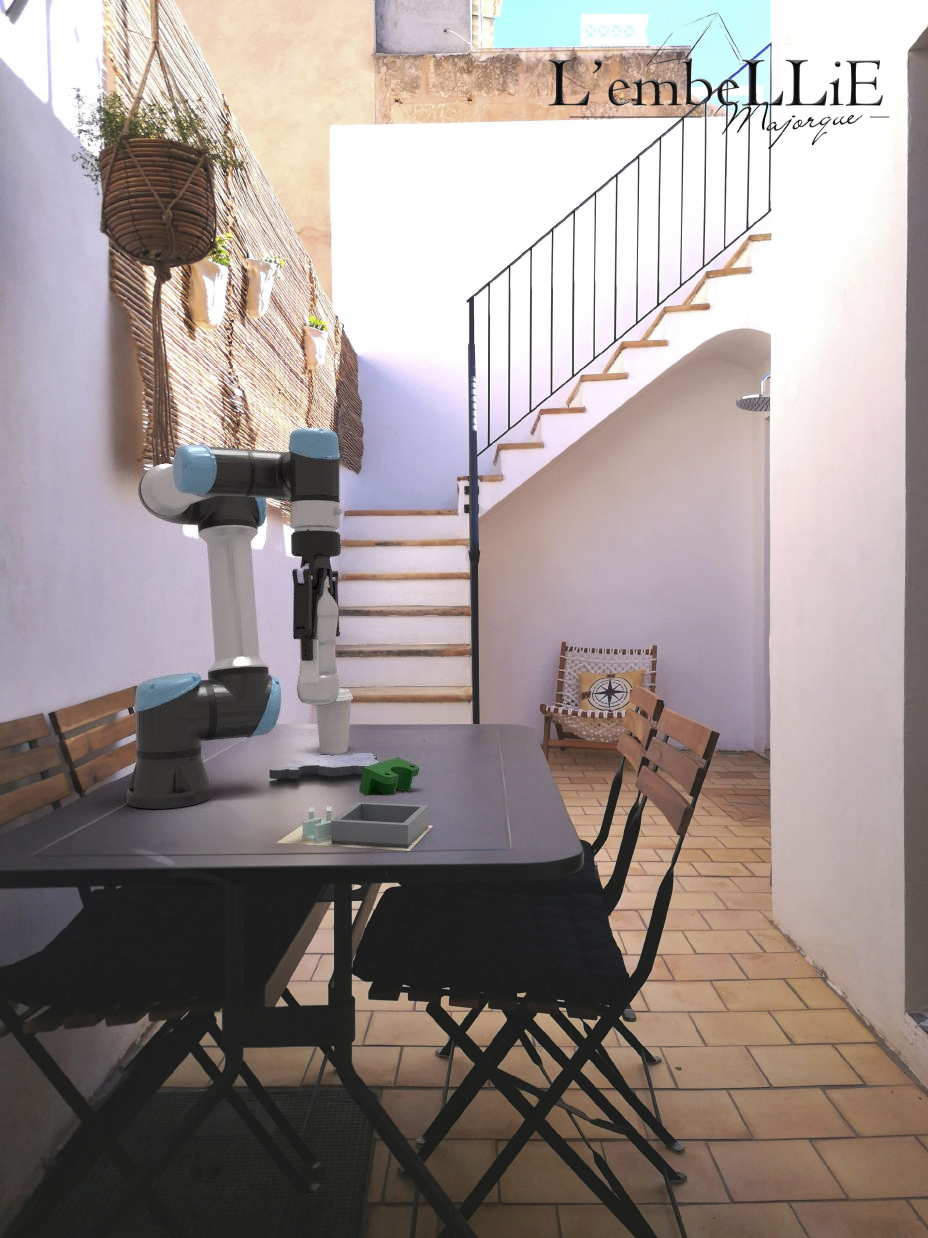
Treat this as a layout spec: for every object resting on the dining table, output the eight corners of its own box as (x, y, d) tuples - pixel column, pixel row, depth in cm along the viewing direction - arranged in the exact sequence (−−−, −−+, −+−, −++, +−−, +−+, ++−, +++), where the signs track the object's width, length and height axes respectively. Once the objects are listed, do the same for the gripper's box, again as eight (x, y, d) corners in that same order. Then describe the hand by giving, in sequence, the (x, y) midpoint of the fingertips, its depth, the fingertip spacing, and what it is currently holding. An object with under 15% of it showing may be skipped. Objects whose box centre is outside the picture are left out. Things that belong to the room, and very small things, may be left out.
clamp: (385, 821, 168) (382, 783, 163) (361, 809, 171) (357, 772, 166) (423, 786, 176) (421, 749, 172) (399, 776, 179) (396, 739, 175)
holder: (331, 844, 134) (331, 821, 134) (357, 823, 146) (357, 802, 145) (408, 848, 131) (407, 825, 131) (428, 827, 143) (428, 805, 143)
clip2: (301, 838, 137) (301, 821, 137) (317, 834, 139) (317, 817, 139) (318, 843, 134) (318, 826, 134) (333, 839, 136) (333, 822, 136)
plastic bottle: (319, 701, 142) (317, 576, 142) (349, 704, 138) (347, 575, 137) (288, 705, 137) (286, 576, 136) (317, 708, 133) (315, 575, 132)
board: (276, 849, 135) (276, 842, 135) (311, 825, 148) (311, 819, 148) (409, 857, 130) (409, 850, 130) (432, 831, 144) (432, 825, 144)
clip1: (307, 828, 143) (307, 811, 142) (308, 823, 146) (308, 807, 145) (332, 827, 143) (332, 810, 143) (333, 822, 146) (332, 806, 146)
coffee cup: (311, 749, 218) (310, 688, 217) (349, 747, 221) (349, 687, 220) (316, 756, 209) (316, 693, 208) (356, 754, 212) (356, 691, 211)
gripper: (316, 525, 127) (318, 686, 127) (358, 534, 145) (360, 675, 146) (267, 526, 128) (269, 686, 129) (315, 535, 147) (317, 674, 147)
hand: (318, 680), depth 137 cm, fingers closed on plastic bottle, 6 cm apart
